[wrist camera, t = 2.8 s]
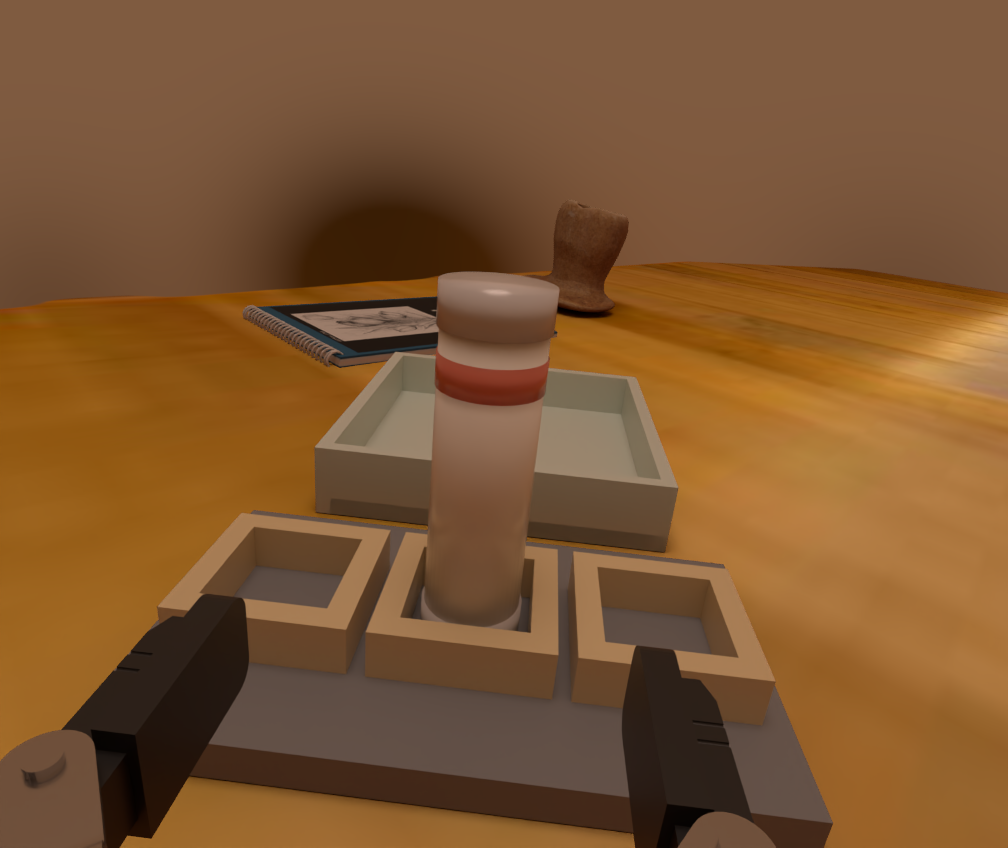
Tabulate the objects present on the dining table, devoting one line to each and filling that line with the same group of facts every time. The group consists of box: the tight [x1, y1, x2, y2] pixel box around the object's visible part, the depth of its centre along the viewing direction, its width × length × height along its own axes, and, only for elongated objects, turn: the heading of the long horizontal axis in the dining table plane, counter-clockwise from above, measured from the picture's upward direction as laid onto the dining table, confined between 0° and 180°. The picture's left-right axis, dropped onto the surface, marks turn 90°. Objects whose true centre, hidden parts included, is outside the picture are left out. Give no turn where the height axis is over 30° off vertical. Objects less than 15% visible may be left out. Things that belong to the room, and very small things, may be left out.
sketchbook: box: [243, 297, 557, 368], centre depth 78 cm, size 22×30×2 cm
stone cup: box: [525, 200, 629, 312], centre depth 95 cm, size 15×12×15 cm
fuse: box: [420, 272, 560, 631], centre depth 24 cm, size 4×4×14 cm
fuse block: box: [114, 510, 833, 848], centre depth 27 cm, size 24×14×4 cm, turn 86°
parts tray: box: [315, 352, 678, 552], centre depth 45 cm, size 20×20×4 cm
